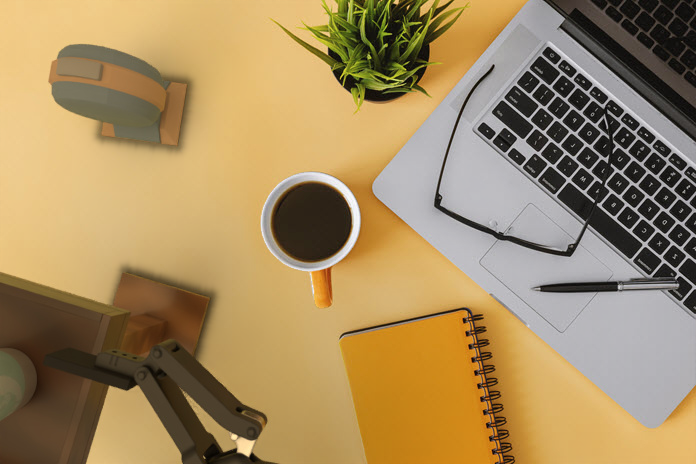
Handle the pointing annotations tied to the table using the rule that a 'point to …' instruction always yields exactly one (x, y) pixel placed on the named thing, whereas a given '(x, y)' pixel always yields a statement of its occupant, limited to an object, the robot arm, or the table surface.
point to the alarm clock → (118, 93)
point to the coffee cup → (15, 380)
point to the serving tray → (54, 370)
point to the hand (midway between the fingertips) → (29, 444)
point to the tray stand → (159, 314)
